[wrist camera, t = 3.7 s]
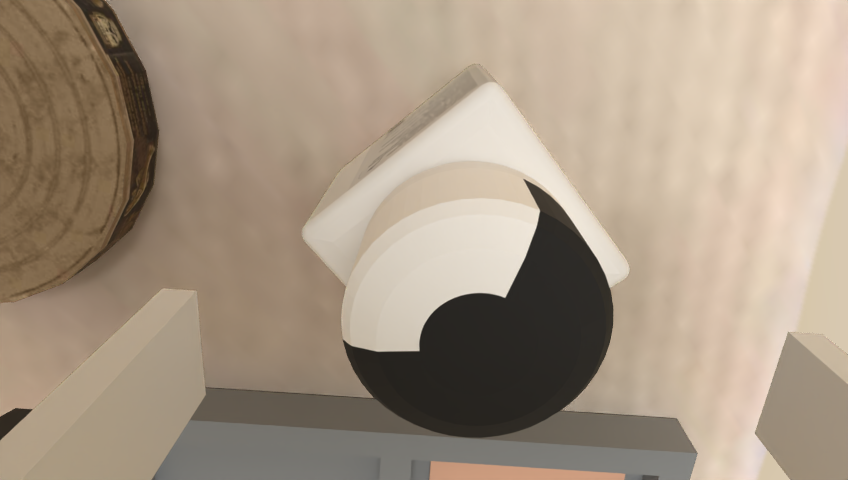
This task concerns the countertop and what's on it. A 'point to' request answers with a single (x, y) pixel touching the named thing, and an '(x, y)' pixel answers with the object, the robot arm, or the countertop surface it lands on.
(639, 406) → the countertop surface
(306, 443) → the two-bay tray
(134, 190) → the brown disc
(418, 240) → the container
